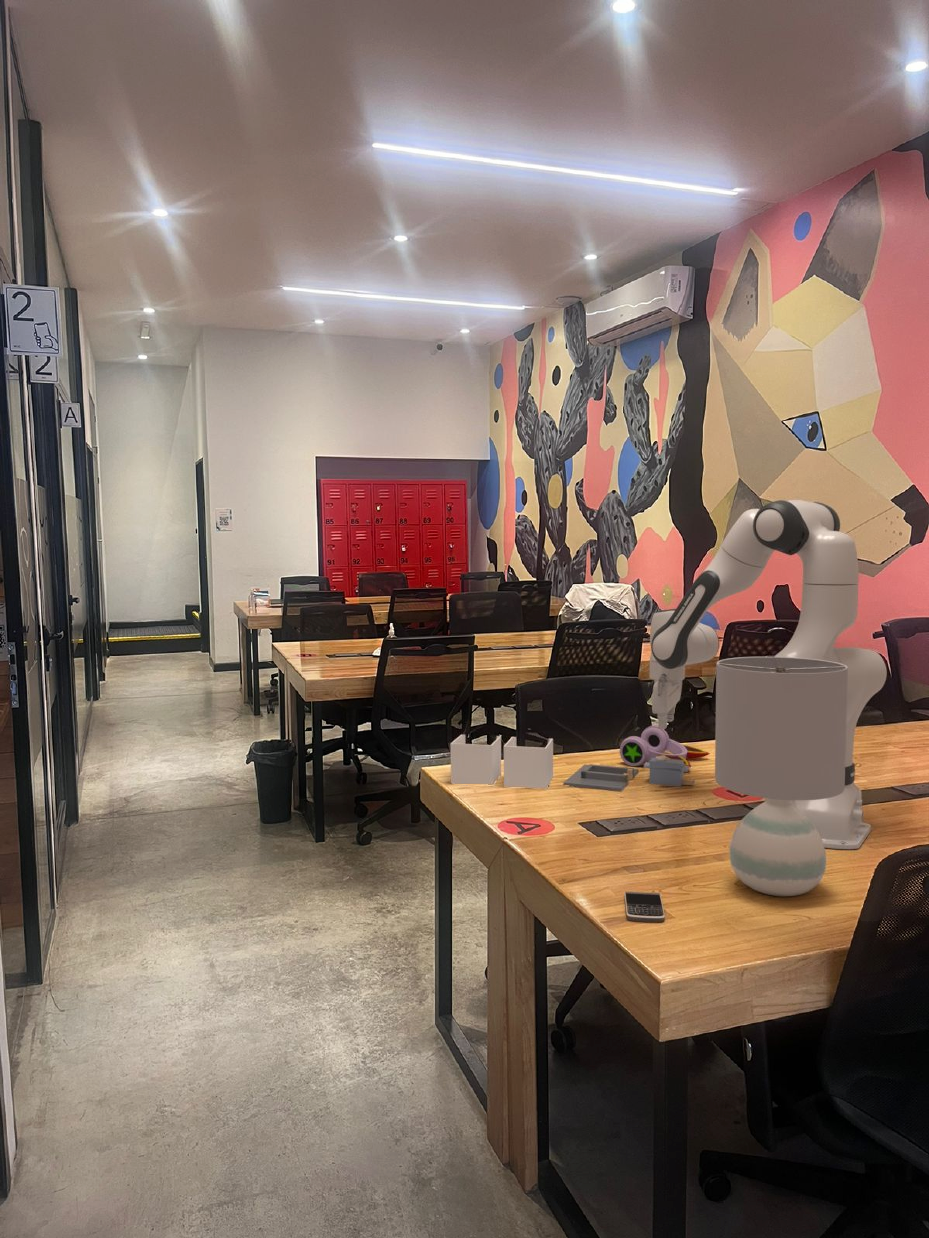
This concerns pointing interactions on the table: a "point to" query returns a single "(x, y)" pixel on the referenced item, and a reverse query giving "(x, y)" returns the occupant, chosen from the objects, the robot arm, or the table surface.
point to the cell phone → (644, 907)
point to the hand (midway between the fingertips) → (666, 724)
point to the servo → (668, 772)
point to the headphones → (656, 748)
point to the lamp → (780, 762)
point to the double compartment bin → (485, 764)
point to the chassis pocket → (602, 777)
